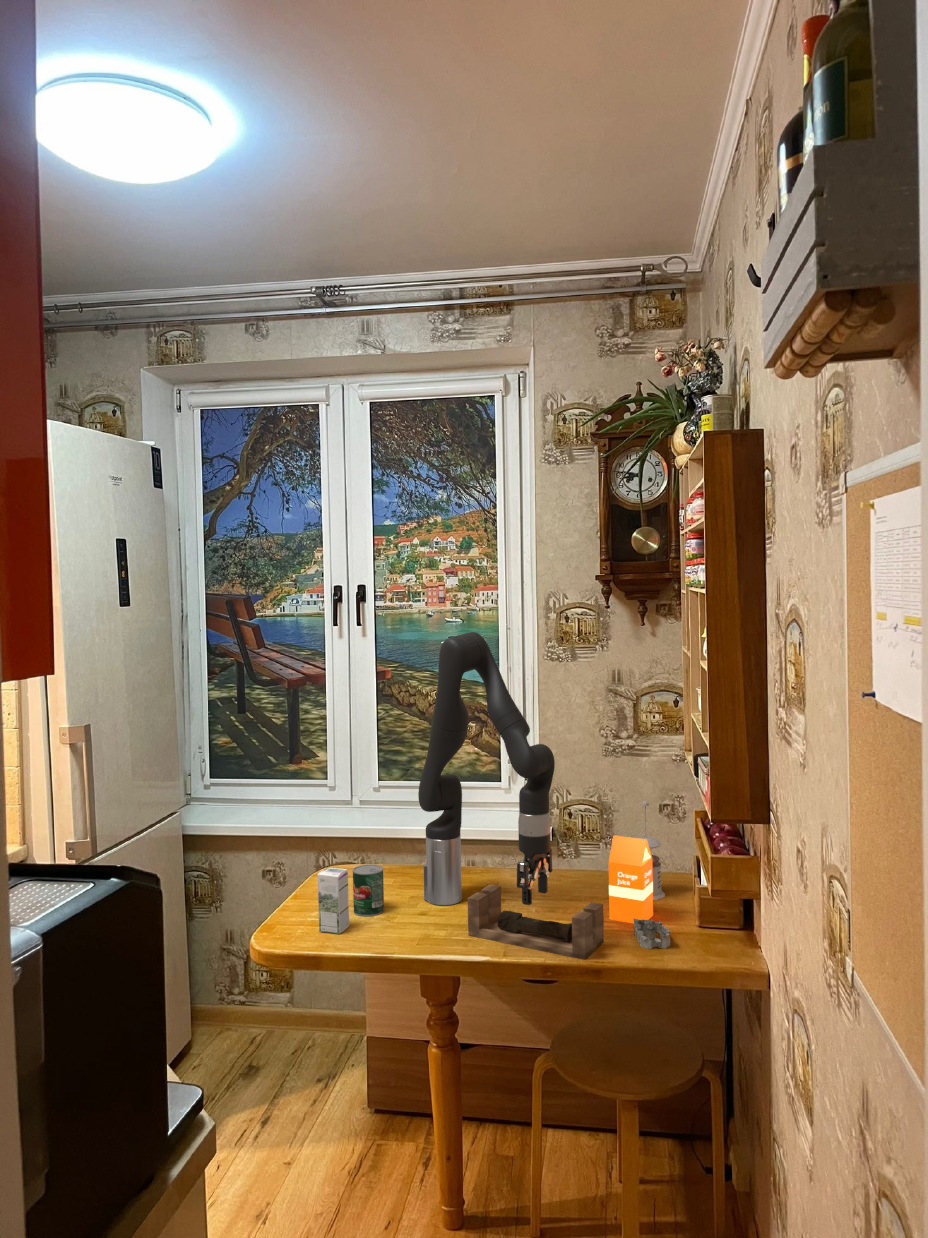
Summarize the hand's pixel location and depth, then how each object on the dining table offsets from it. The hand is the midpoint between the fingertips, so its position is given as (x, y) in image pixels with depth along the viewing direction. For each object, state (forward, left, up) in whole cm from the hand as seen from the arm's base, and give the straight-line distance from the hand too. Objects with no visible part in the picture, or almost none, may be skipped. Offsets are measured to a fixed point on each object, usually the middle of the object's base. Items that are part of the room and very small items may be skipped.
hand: (535, 898), depth 211 cm
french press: (+13, +40, -10) cm, 43 cm away
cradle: (0, -1, -9) cm, 9 cm away
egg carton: (+24, +11, -10) cm, 29 cm away
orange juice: (+15, +23, -10) cm, 29 cm away
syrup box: (-46, -18, -10) cm, 50 cm away
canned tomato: (-46, -4, -10) cm, 47 cm away
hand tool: (0, -1, -9) cm, 9 cm away
